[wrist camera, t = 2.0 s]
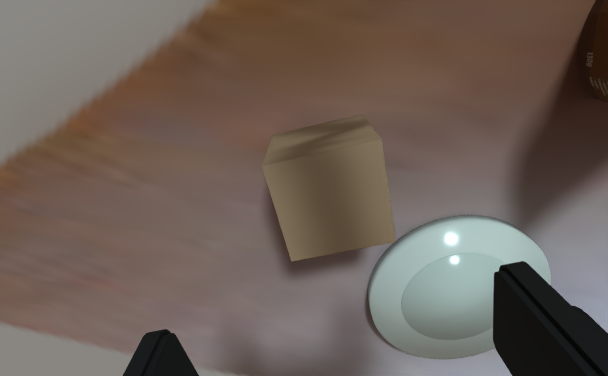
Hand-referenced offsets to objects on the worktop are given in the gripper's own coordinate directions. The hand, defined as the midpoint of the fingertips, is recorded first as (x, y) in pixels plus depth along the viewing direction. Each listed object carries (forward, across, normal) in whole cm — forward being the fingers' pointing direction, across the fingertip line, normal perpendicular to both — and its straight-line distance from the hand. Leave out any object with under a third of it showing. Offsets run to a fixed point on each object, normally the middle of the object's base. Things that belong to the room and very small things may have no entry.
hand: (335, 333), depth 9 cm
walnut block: (+14, -1, 0) cm, 14 cm away
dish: (+14, -9, +13) cm, 21 cm away
